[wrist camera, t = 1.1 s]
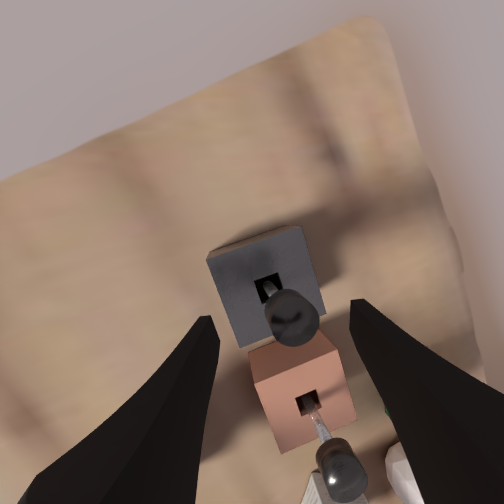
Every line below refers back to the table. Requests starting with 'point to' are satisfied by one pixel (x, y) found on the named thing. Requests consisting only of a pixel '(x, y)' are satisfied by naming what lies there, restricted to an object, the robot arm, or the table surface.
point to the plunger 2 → (336, 461)
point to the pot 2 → (301, 389)
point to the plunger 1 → (290, 316)
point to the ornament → (402, 475)
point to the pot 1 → (256, 267)
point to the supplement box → (323, 493)
